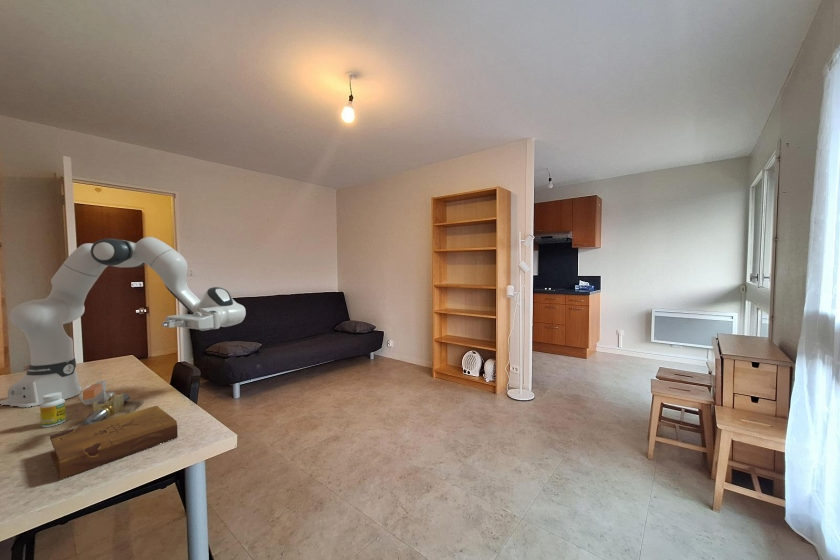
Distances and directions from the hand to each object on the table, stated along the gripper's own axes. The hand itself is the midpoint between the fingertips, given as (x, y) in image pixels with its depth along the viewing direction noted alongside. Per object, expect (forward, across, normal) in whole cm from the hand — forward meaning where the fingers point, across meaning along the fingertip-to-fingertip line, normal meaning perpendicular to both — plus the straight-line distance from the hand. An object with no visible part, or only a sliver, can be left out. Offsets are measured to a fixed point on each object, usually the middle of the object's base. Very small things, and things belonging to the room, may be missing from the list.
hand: (165, 324), depth 115 cm
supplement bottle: (+23, -20, +30) cm, 43 cm away
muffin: (+10, -30, +30) cm, 44 cm away
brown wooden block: (+21, +16, +30) cm, 40 cm away
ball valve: (+13, -9, +30) cm, 34 cm away
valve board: (+13, -9, +30) cm, 34 cm away
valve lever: (+17, -3, +23) cm, 29 cm away
